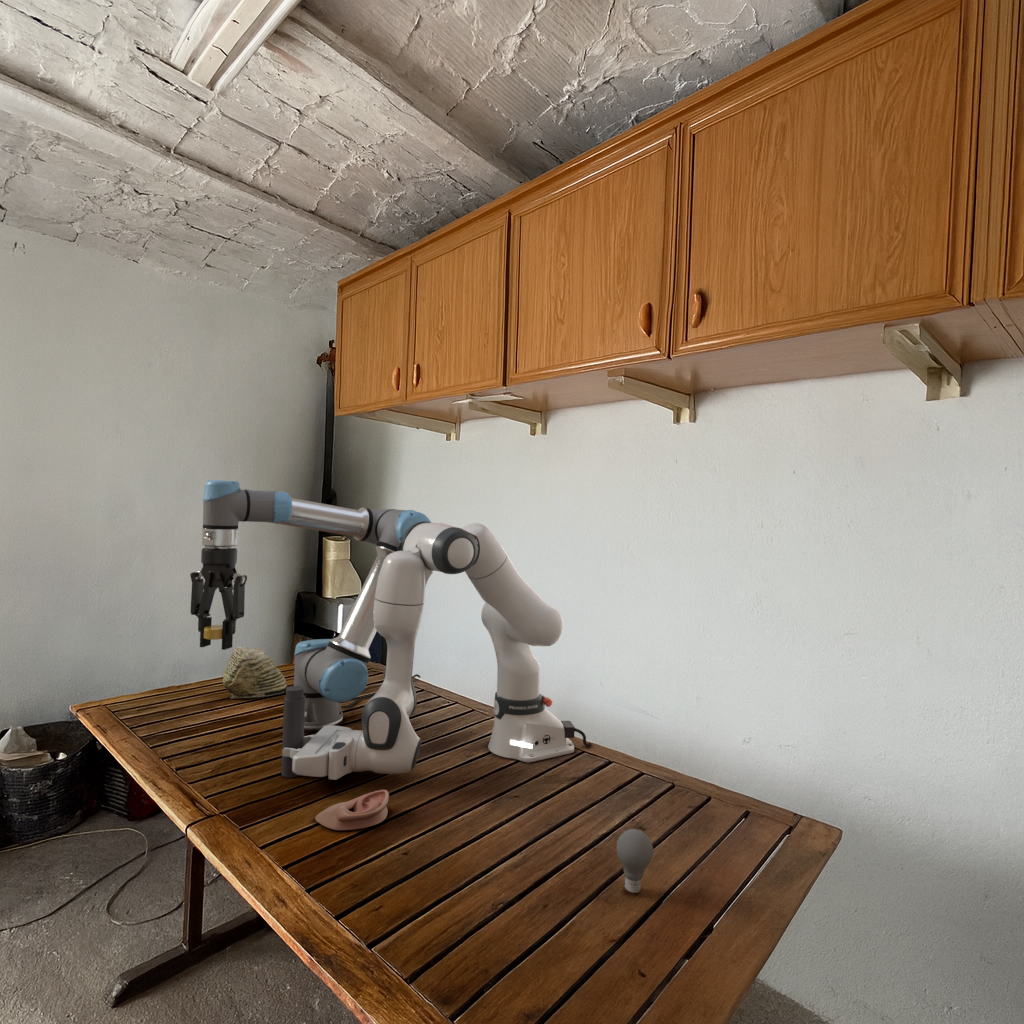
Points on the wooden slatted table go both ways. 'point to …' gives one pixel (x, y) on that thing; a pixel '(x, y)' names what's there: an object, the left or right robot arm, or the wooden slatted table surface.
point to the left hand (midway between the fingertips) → (216, 646)
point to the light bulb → (634, 857)
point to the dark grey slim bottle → (292, 725)
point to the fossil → (252, 674)
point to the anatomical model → (356, 812)
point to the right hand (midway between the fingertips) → (288, 746)
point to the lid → (213, 632)
